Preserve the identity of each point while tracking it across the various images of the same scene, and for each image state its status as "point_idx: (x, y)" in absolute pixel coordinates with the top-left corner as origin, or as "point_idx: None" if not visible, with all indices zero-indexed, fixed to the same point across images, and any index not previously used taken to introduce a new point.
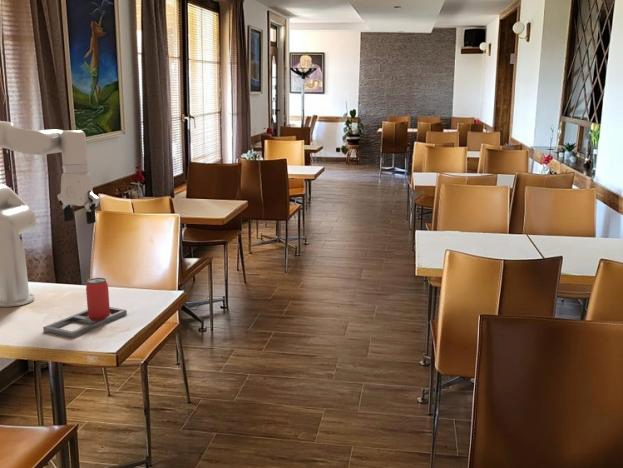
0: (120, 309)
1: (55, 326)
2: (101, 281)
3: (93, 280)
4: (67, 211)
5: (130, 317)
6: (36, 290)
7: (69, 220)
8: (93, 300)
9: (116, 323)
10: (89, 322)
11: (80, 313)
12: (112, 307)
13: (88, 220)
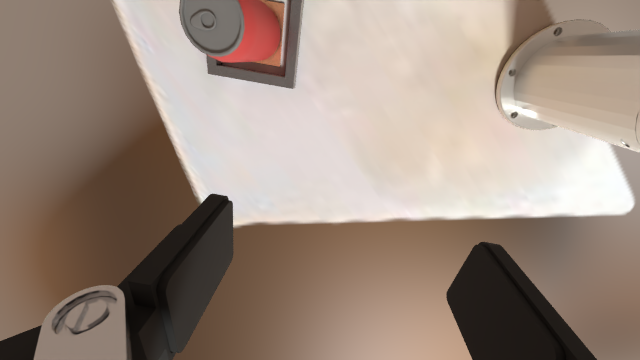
0: (223, 72)
1: None
2: (194, 22)
3: (230, 25)
4: (524, 345)
5: (191, 56)
6: (524, 170)
7: (462, 267)
8: None
9: None
10: None
11: (294, 9)
12: (250, 80)
13: (196, 211)
